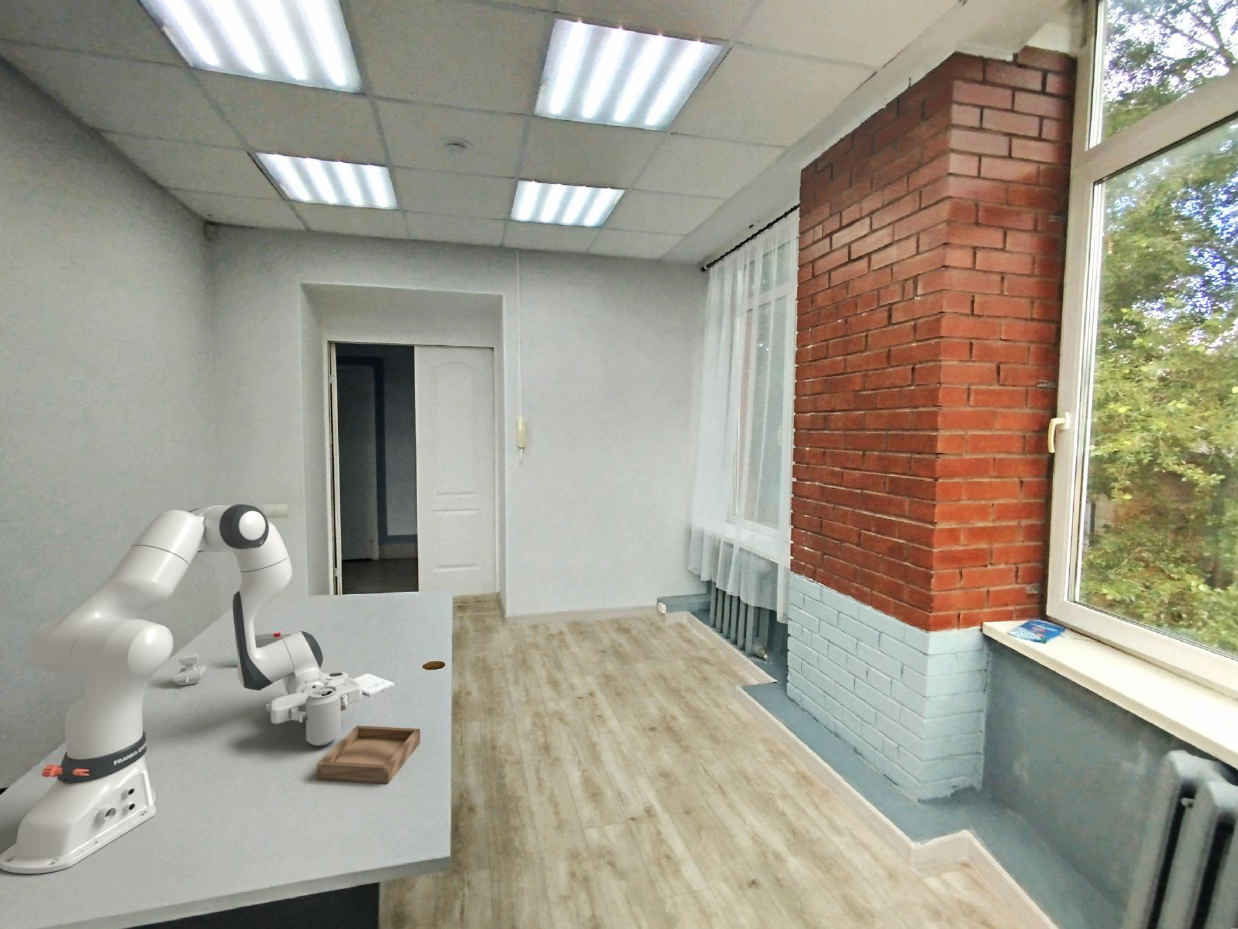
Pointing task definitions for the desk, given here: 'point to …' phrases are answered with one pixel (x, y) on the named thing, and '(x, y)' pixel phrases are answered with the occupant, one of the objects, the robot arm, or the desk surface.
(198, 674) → the stamp
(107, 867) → the desk surface
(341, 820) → the desk surface
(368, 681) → the external hard drive
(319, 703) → the can
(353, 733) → the tray
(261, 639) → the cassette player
